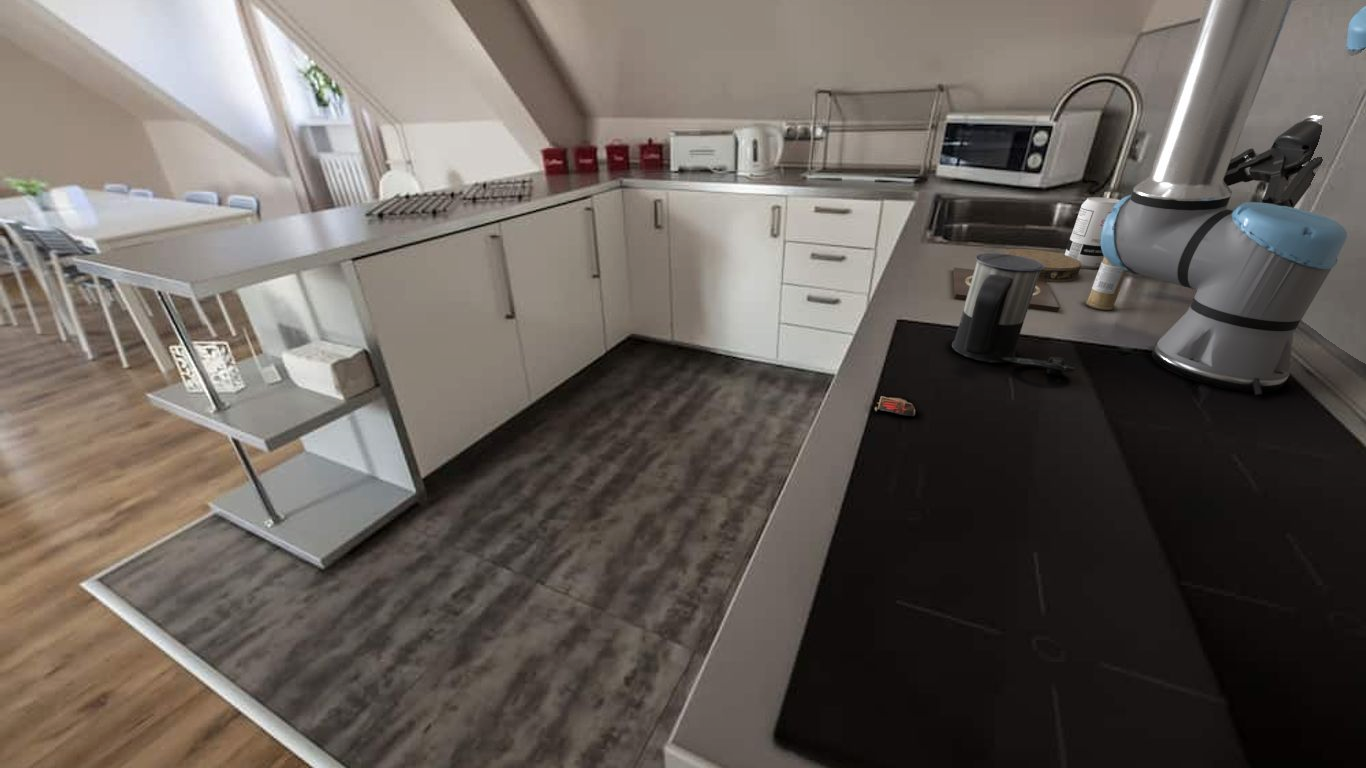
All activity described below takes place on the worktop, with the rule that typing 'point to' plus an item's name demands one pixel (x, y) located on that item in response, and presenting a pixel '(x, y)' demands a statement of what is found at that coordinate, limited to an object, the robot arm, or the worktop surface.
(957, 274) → the serving tray
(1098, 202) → the supplement can
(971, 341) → the milk frother
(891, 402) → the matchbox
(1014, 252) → the brown round flat disc
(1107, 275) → the sprinkles bottle
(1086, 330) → the worktop surface
